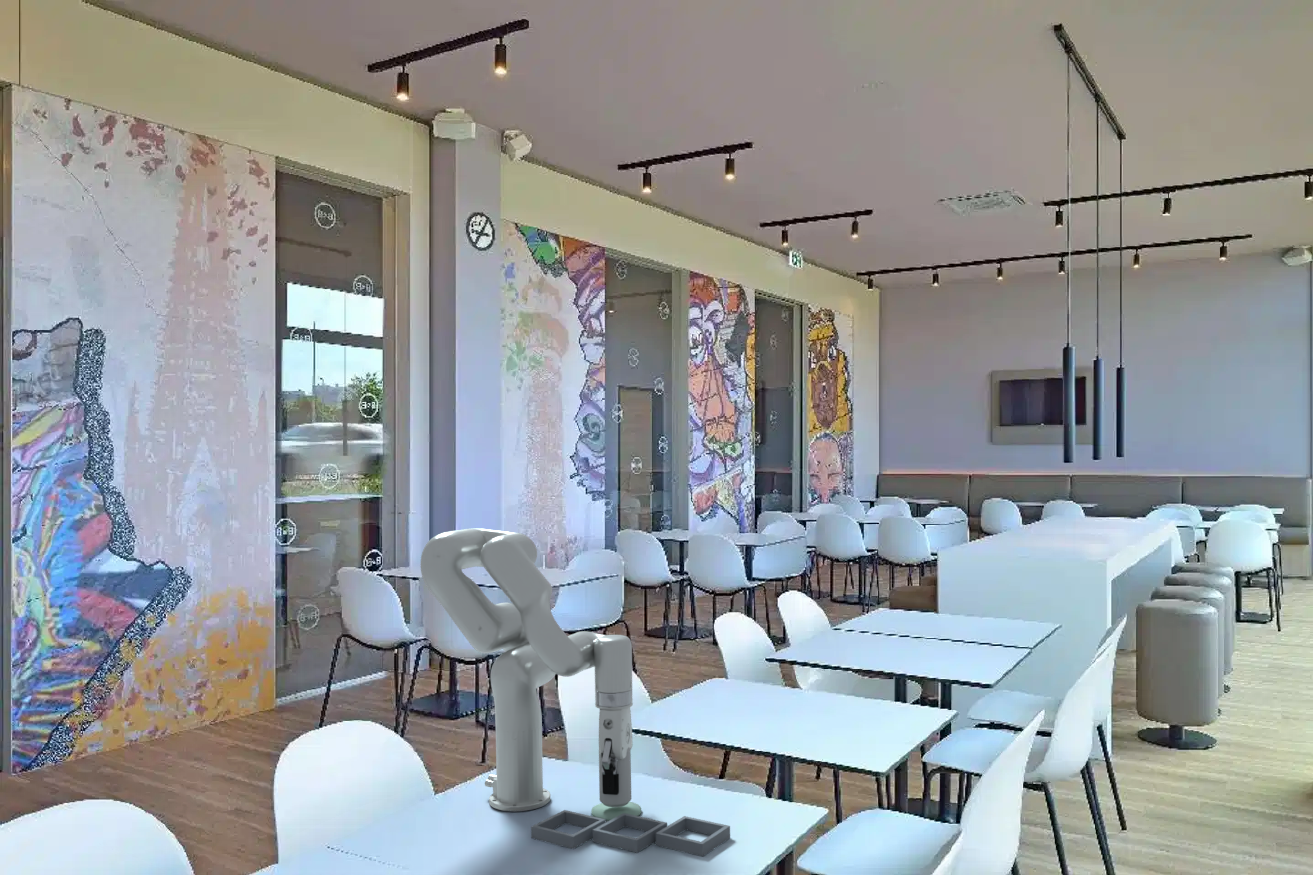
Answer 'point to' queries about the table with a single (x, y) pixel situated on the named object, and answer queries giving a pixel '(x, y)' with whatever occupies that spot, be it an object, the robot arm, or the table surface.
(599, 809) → the coaster
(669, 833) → the tray
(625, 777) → the beverage can
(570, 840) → the tray
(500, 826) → the table surface
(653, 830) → the tray
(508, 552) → the robot arm
